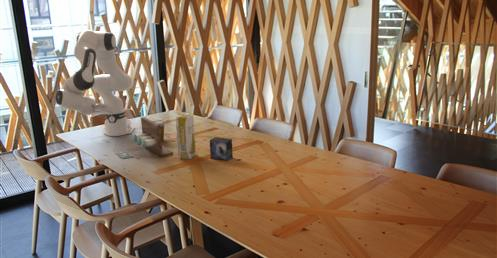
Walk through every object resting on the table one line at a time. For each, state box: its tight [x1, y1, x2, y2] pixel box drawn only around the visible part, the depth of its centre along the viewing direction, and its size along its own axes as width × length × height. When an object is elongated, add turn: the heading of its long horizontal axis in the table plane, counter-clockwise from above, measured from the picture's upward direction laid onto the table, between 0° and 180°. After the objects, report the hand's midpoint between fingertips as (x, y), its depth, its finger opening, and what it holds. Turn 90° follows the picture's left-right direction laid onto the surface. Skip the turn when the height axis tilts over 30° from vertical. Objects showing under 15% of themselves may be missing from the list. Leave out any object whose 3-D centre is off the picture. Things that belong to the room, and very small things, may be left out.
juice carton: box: [175, 112, 196, 160], centre depth 224 cm, size 9×8×24 cm
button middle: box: [136, 136, 152, 146], centre depth 232 cm, size 8×4×4 cm, turn 124°
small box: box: [209, 136, 234, 162], centre depth 222 cm, size 11×6×10 cm, turn 62°
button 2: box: [141, 138, 157, 149], centre depth 227 cm, size 8×4×4 cm, turn 124°
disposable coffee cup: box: [152, 119, 166, 142], centre depth 256 cm, size 10×10×12 cm
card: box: [115, 150, 134, 160], centre depth 233 cm, size 6×12×1 cm, turn 34°
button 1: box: [132, 133, 147, 143], centre depth 238 cm, size 8×4×4 cm, turn 124°
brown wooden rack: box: [140, 116, 174, 159], centre depth 236 cm, size 8×23×18 cm, turn 34°
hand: (111, 113), depth 229 cm, fingers closed
